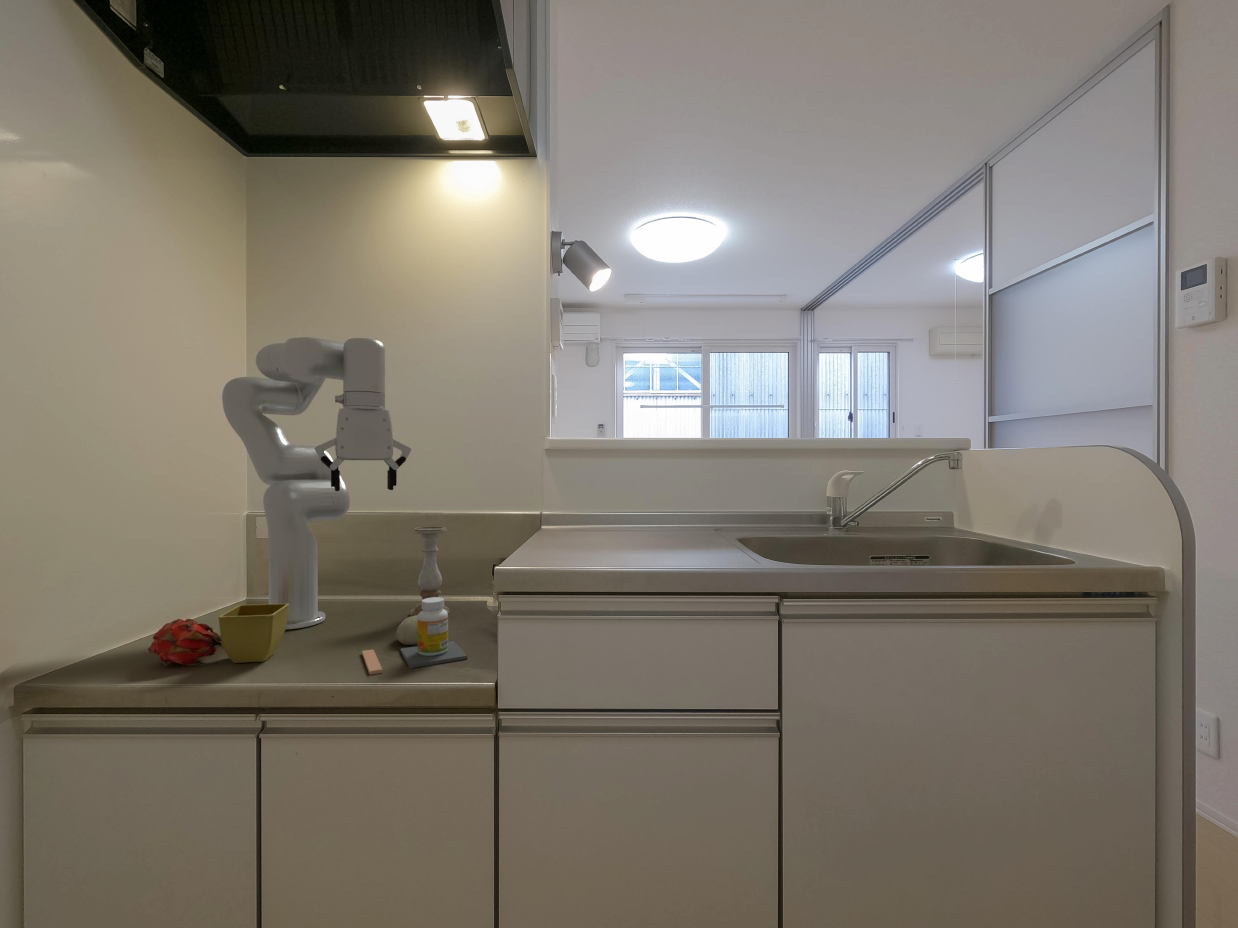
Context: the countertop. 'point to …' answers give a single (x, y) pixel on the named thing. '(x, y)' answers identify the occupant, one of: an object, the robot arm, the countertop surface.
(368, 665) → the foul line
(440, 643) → the supplement bottle
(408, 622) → the sea urchin shell
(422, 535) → the candle holder
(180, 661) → the dragon fruit
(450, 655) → the pad
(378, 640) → the countertop surface
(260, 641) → the flower pot
